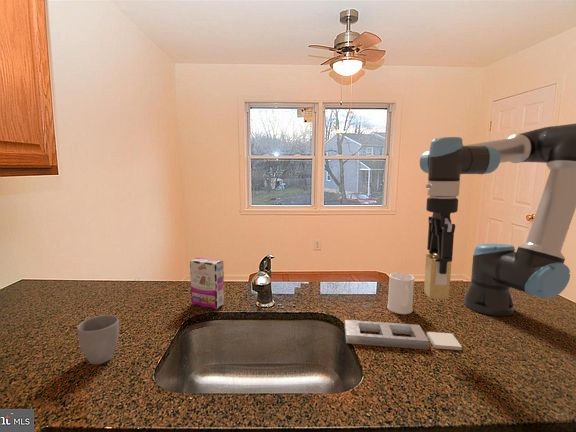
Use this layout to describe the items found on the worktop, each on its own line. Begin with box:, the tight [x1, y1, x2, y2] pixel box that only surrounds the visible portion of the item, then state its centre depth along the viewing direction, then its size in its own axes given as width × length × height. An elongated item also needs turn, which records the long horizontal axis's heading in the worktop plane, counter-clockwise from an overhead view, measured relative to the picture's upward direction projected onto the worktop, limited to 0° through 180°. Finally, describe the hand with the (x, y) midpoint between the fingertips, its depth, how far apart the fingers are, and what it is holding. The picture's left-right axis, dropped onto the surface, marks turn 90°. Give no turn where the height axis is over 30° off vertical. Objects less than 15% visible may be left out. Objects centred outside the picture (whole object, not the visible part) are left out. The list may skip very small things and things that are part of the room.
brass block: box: [423, 253, 452, 300], centre depth 85 cm, size 5×5×12 cm
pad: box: [426, 331, 463, 351], centre depth 87 cm, size 7×7×1 cm
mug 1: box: [77, 314, 120, 365], centre depth 79 cm, size 12×9×10 cm
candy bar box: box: [189, 257, 225, 310], centre depth 109 cm, size 11×5×16 cm, turn 68°
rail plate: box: [344, 319, 430, 350], centre depth 89 cm, size 22×9×2 cm, turn 83°
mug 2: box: [386, 272, 415, 315], centre depth 106 cm, size 12×8×12 cm
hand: (437, 280), depth 85 cm, fingers closed on brass block, 5 cm apart
